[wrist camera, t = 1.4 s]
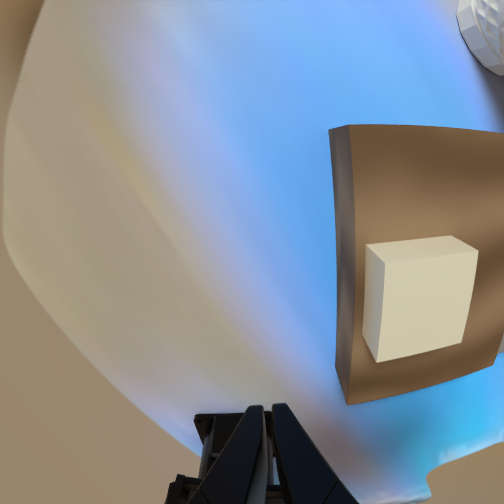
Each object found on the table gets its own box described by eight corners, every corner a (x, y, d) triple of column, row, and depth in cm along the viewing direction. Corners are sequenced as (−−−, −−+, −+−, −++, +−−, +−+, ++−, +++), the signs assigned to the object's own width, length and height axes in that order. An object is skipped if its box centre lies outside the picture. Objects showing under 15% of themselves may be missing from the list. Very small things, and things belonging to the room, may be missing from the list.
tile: (440, 319, 15) (461, 342, 13) (362, 334, 16) (376, 362, 13) (451, 235, 14) (478, 250, 11) (365, 244, 14) (385, 263, 12)
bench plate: (468, 338, 21) (493, 365, 17) (335, 367, 21) (347, 405, 17) (488, 135, 16) (527, 137, 12) (328, 129, 16) (348, 124, 12)
